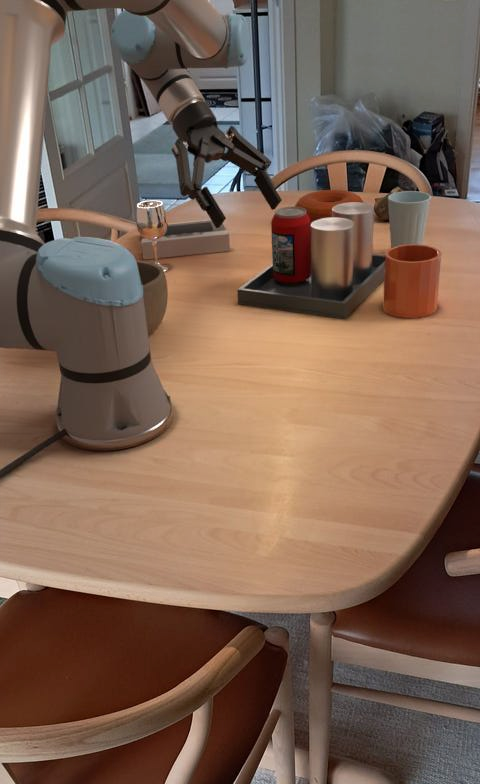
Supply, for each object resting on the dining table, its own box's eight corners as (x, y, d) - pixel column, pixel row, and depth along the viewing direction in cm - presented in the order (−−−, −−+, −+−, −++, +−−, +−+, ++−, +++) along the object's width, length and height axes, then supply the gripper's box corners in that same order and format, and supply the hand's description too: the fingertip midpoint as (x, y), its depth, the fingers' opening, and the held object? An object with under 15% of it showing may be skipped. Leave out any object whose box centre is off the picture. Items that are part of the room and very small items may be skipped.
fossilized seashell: (422, 198, 177) (375, 207, 179) (420, 175, 171) (371, 184, 174) (425, 226, 174) (377, 234, 177) (422, 203, 168) (372, 212, 171)
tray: (344, 319, 134) (345, 303, 132) (238, 304, 142) (237, 289, 140) (393, 270, 150) (394, 255, 149) (295, 259, 158) (295, 245, 157)
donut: (378, 216, 177) (379, 192, 174) (336, 235, 168) (336, 210, 165) (323, 206, 185) (322, 183, 182) (280, 224, 176) (279, 200, 174)
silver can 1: (343, 305, 137) (344, 232, 130) (304, 300, 140) (303, 228, 133) (359, 290, 142) (360, 219, 135) (321, 285, 145) (320, 215, 138)
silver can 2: (363, 286, 143) (365, 215, 136) (325, 282, 146) (325, 212, 139) (377, 272, 148) (379, 203, 141) (340, 268, 151) (341, 200, 144)
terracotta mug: (427, 321, 131) (431, 265, 126) (375, 314, 135) (377, 259, 129) (448, 295, 139) (453, 241, 134) (399, 289, 143) (401, 236, 137)
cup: (435, 255, 155) (439, 197, 149) (400, 263, 153) (403, 205, 147) (412, 244, 161) (415, 188, 155) (378, 252, 159) (380, 195, 153)
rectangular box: (141, 242, 161) (138, 212, 174) (144, 265, 164) (141, 234, 177) (228, 234, 162) (220, 204, 175) (230, 256, 165) (221, 226, 178)
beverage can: (266, 278, 149) (263, 209, 142) (300, 270, 151) (298, 203, 144) (284, 289, 144) (281, 219, 137) (318, 281, 146) (317, 212, 139)
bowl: (119, 307, 144) (110, 249, 138) (195, 328, 135) (189, 267, 129) (42, 342, 134) (29, 282, 128) (118, 368, 124) (108, 304, 118)
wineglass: (136, 272, 158) (127, 207, 151) (153, 262, 162) (145, 198, 155) (162, 275, 156) (154, 209, 149) (178, 265, 160) (171, 201, 153)
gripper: (231, 116, 159) (289, 210, 158) (125, 141, 146) (188, 243, 145) (248, 87, 152) (308, 185, 152) (139, 111, 139) (204, 218, 139)
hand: (249, 214), depth 148 cm, fingers open, 13 cm apart
